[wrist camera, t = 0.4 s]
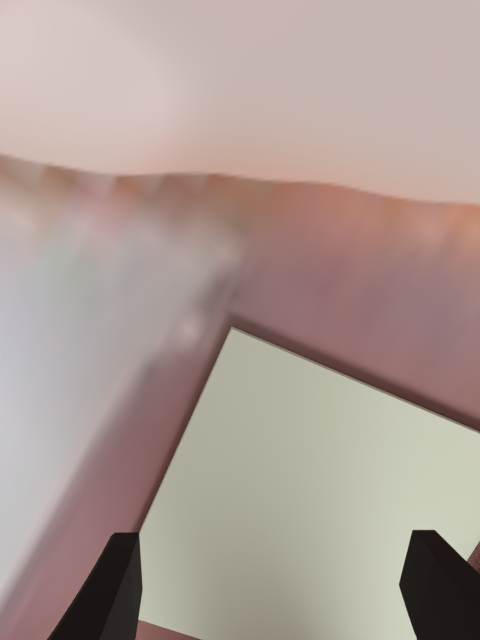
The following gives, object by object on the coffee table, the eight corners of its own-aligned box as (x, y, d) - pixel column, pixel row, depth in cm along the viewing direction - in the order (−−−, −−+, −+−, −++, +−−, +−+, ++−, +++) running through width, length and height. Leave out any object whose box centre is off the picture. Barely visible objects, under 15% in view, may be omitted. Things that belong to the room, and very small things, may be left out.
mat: (375, 685, 25) (379, 696, 25) (108, 599, 23) (105, 608, 22) (525, 450, 22) (533, 456, 21) (231, 326, 20) (231, 328, 19)
